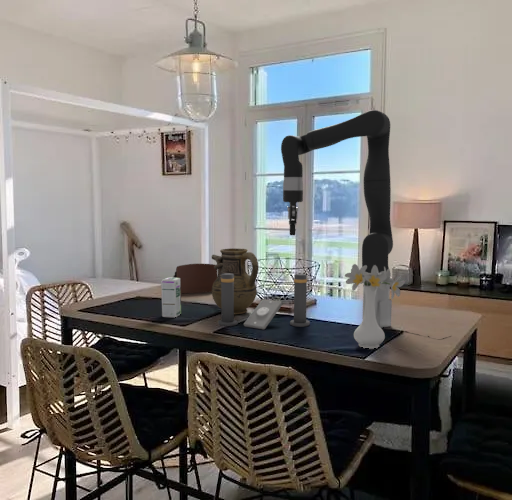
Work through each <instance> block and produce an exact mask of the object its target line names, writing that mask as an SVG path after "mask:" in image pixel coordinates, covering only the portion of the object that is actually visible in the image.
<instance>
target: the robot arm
mask: <svg viewBox="0 0 512 500" xmlns="http://www.w3.org/2000/svg"><path fill="white" fill-rule="evenodd" d="M390 134H391V121H390V117H389V116H388V115H387V114H385V113H383V112H382V111H380V110H377V109H371V110H368V111H365V112H363V113H361V114H359V115H356V116H355V117H353V118H350V119H348V120H345V121H341V122H338V123H336V124H332V125H329V126H324V127H321V128H317V129H313V130H310V131H308V132H307V133H306V134H304V135H298V136H296V135H293V134H291V135H290V134H288V135H287V136H285V137H284V138H283V139H282V141H281V144H280V145H281V146H280V151H281V152H280V153H281V157H282V162H283V182H282V201H283V203H289V206H287V218H288V220H289V221H288V225H289V236H296V230H297V229H296V225H297V220H298V213H299V207H298V206H297V203H303V202H304V181H303V163H302V162H301V161H300V158H299V157H300V156H301V155H302V156H303V155H305V154H307V153H309V152H313V151H316V150H320V149H323V148H324V149H325V148H328V147H331V146H334V145H336V144H338V143H341V142H343V141H345V140H348V139H353V138H358V137H359V138H360V137H366V139H367V152H368V153H367V159H366V163H365V167H364V173H363V196H364V201H365V206H366V208H367V212H368V217H369V234H367V235H366V236H365V237H364V239H363V241H362V245H361V268H362V267H363V266H365V265H367V269H366V270H365V272H368V273H371V270H372V268H373V266H374V265H376V266H377V268H378V273H380V272H382V271H384V267H385V268H386V272H387V270H388V269H389V270H390V268H389V255H390V254H391V253H392V250H393V248H394V240H393V239H394V238H393V233H392V232H393V231H392V224H391V199H392V198H391V192H392V190H391V188H392V187H391V168H390V166H391V165H390V155H389V154H390V153H389V151H390V149H389V148H390V147H389V146H390ZM390 278H391V277H390ZM390 278H388V279H390ZM365 281H366V282H367V284H368V281H367V280H366V279H365ZM362 285H364V283H362ZM362 289H363V290H362V319H363V318H364V312H365V291H364V287H363V286H362ZM390 291H391V286H390V285H388V284H387V287H386V290H382V289H380V288H377V291H376V296H375V316H376V321H377V323H378V325H379V327H380V328H381V329H383V327H384V328H387V327H388V328H389V327H391V326H392V311H393V310H392V305H393V304H392V302H393V301H392V300H393V299H390V298H391V296H390V293H391V292H390Z"/></svg>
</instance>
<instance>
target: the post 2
mask: <svg viewBox="0 0 512 500" xmlns="http://www.w3.org/2000/svg"><path fill="white" fill-rule="evenodd" d="M293 282H294V283H293V284H294V286H293V289H294V290H293V291H294V292H293V294H294V295H293V319H292V320H290V321H289V325H290V326H293V327H298V328H299V327H300V328H304V327H309V326H310V325H311V324H310V323H311V321H310V320H308V319H307V294H308V293H307V289H308V288H307V287H308V284H307V283H308V276H307V274H306V273H296V274H294V277H293Z"/></svg>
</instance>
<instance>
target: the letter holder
mask: <svg viewBox="0 0 512 500" xmlns="http://www.w3.org/2000/svg"><path fill="white" fill-rule="evenodd" d="M215 265H216V264H214V263H213V264H212V263H188V264H182V265H178V266H176V269H175V271H174V275H173V277H176V278H180V286H181V295H182V294H200V293H201V294H204V293H212V286H213V283H214V282H215V280H216V279H217V276H218V269H215V268H214V266H215Z"/></svg>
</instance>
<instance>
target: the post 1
mask: <svg viewBox="0 0 512 500" xmlns="http://www.w3.org/2000/svg"><path fill="white" fill-rule="evenodd" d="M220 309H221V311H220V312H221V316H220V317H221V319H218V320H217V325H219V326H220V327H221V326H222V327H232V326H233V327H234V326H236V325H238V320H237V319H235V318H234V317H235V316H234V315H235V314H234V274H230V273H225V274H221V308H220Z"/></svg>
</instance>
